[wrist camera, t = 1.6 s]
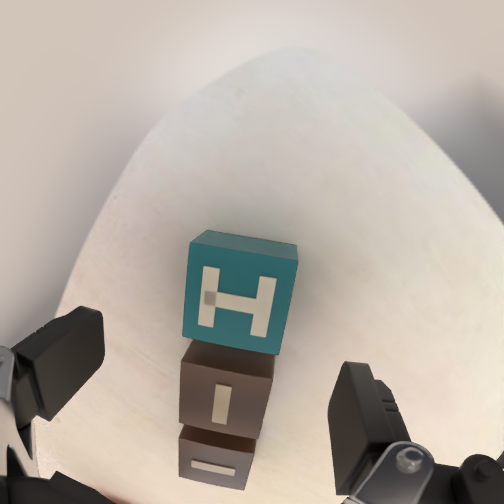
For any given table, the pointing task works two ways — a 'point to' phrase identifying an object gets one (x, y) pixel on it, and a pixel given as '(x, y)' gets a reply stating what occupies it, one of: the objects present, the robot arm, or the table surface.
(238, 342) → the teal letter h block
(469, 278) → the table surface
